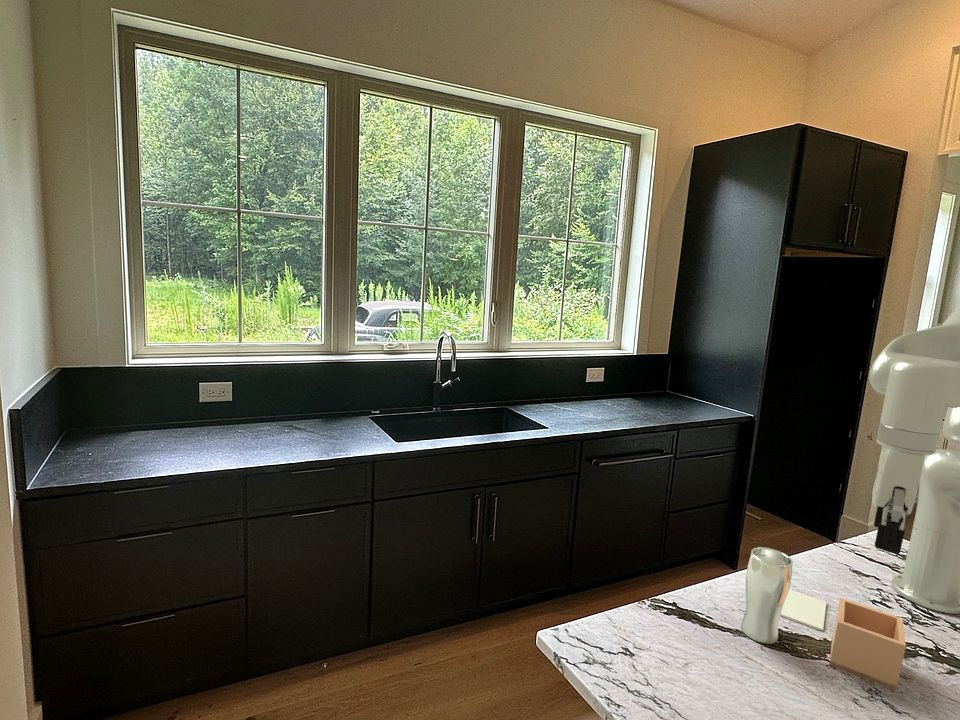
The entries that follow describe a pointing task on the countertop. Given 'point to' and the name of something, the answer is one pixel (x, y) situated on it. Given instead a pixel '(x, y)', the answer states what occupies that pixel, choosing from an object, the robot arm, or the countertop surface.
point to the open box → (868, 643)
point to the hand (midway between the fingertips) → (885, 539)
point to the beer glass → (766, 593)
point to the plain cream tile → (804, 610)
